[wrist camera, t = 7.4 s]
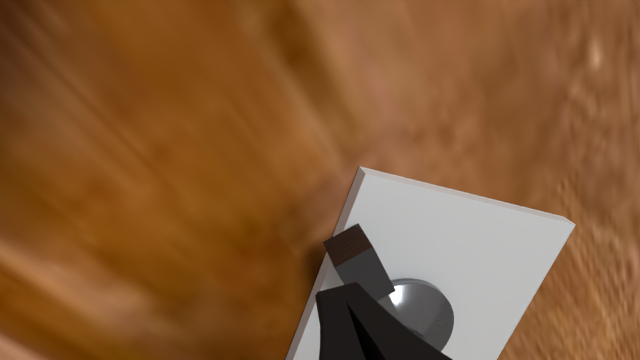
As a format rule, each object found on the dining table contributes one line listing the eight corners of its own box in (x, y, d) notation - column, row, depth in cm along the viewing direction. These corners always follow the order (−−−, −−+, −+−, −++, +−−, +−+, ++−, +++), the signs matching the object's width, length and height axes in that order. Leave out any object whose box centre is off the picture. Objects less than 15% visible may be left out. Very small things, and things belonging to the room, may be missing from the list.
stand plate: (466, 386, 31) (474, 399, 30) (279, 374, 27) (282, 389, 26) (563, 216, 27) (576, 225, 26) (359, 166, 22) (366, 174, 21)
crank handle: (462, 336, 27) (484, 366, 25) (363, 391, 27) (377, 426, 25) (400, 196, 22) (421, 219, 20) (278, 264, 22) (285, 294, 20)
